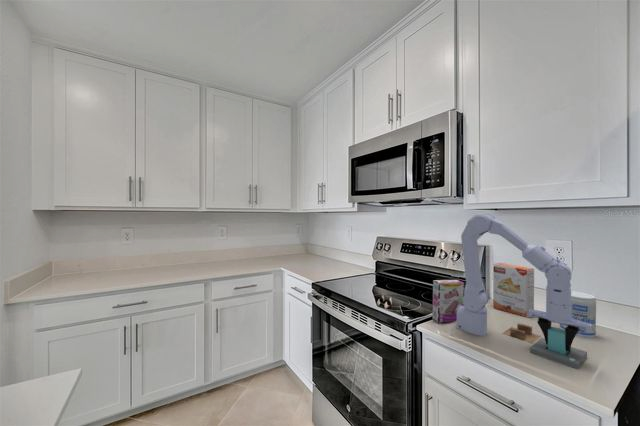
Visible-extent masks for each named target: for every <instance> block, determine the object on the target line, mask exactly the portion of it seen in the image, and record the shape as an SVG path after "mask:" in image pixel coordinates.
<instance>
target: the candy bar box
mask: <svg viewBox="0 0 640 426" xmlns="http://www.w3.org/2000/svg"><path fill="white" fill-rule="evenodd" d="M464 289H465V282H463V281H461V280H459V279H436V280H435V279H434V280H432V320H433V321H435V322H436V323H437V324H449V323H455V322H457V310H458V308H459V307H460V306H464V305H463V297H464Z"/></svg>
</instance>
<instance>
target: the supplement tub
mask: <svg viewBox="0 0 640 426" xmlns="http://www.w3.org/2000/svg"><path fill="white" fill-rule="evenodd" d="M571 318H573V319H576V320H579V321H582V322H585V323H589V324H592V332H591V333H590V332H586V331H585V330H581V329H580V330H579V331H578V333H577V334H576V336H577V337H582V338H595V337H596V334H597V333H596V332H597V328H596V327H597V297H596V296H595V295H593V294H590V293H587V292H586V293H585V292H581V291H577V290H576V291H575V290H571ZM566 327H568V326H566V325H562V324H559V328H560V329H563V330H565V328H566ZM576 336H575V337H576Z"/></svg>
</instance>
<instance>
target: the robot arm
mask: <svg viewBox="0 0 640 426" xmlns="http://www.w3.org/2000/svg"><path fill="white" fill-rule="evenodd" d="M486 233H488V234H491V235H497V236H498V235H499V236H500V237H502V238H503V239H504V240H506V241H507V242H508V243H510V244H511V245H513V246H514V247H516V248H517V249H518V250H520V251H521V253H522V258H523V259H524V260H526V261H527V262H528V263H530V264H531V266H533V267H534V268H536V269H537V271H540V272H542V273H544V277H545V278H546V281H547V282H546V286H545V287H546V289H545V290H546V291H545V293H546V295H545V296H546V298H545V300H546V301H545V311H540V310H535V309H534V310H531V309H530V310H529V317H530V318H536V319H538V320H537V325H538V326H539V328H540V329H541V332H542V335H543V336H544V339H545V341H546V344H547V345H548V329H549V328H551V327H552V323H555V324H559V325H560V324H562V325H566V326H568V327H566V328H565V333H566V351H570V349H571V347H572V344H573V341H574V339H575V338H576V334H577V333H578V331H579V330H580V329H581V330H585V331H586V332H590V333H591V332H592V324H589V323H585V322H582V321H579V320H576V319H573V318H571V291H572V289H571V287H572V283H571V280H572V275H573V272H572V270H571V268H570V267H569V266H568V265H567V263H565V262H562V260H561V259H560V258H556V257H554V255H552V254H550V252H548V251H546V250H547V248H546V247H545V246H543V245H542V246H540V245H539V244H530V243H529V242H528V241H526V239H524V238H523V237H522V236H520V235H519V234H518V233H517V232H516V231H514V229H512V228H511V227H509V226H508V225H507V224H506V223H504V222H503V221H502V220H500V219H498V218H496V217H494V216H493V215H492V214H489V213H484V214H482V213H481V214H480V213H479V214H475V215H473V216H472V217H471V218H470V219H469V220H467V224H466V226H465V228H464V230H463V232H461V235H460V236H461V237H460V238H461V248H462V256H463V257H462V258H463V264H464V265H463V266H464V274H465V275H464V277H465V285H464V297H463V305H464V306H460V307H459V308H458V310H457V320H456V329H458V330H461V331H465V332H466V333H469V334H470V335H473V336H479V337H480V336H481V337H483V336H486V335H488V309H487V307H486V305H487V304H488V303H489V295H488V294H487V291H486V290H485V289H486V288H485V285H484V284H483V280H482V273H481V272H482V271H481V270H482V269H481V262H480V254H479V253H480V252H479V246H478V245H479V244H478V240H479V239H480V238H481V237H482V236H483V235H485V234H486Z"/></svg>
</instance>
